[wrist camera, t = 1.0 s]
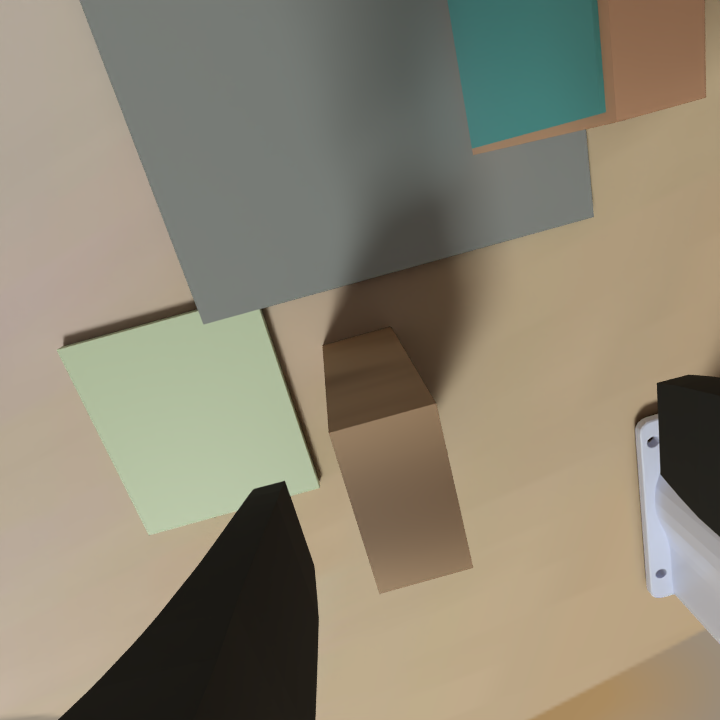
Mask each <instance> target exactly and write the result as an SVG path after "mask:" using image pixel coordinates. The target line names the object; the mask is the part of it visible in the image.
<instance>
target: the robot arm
mask: <svg viewBox="0 0 720 720" xmlns="http://www.w3.org/2000/svg"><path fill="white" fill-rule="evenodd" d="M657 398H658V414H656V415H652V416H648V417H645V418H643V419H641V420H640V421H639V422H638V424H637V426H636V429H635V434H636V447H637V461H638V475H639V488H640V502H641V515H642V529H643V543H644V556H645V570H646V583H647V589H648V591H649V592H650V593H651V595H652V596H654V597H656V598H662V597H666V596H669V595H673V594H675V595H676V596H677V597H678V598H679V599H680V601H681V602H682V603H683V604H684V605H685V606H686V607H687V608H688V609H689V611H690V612H691V613H692V614H693V615H694V616H695V617H696V618H697V619H698V620H699V622H700V623H701V624H702V625H703V626H704V627H705V628H706V629H707V630H708V632H709V633H710V634H711V635H712V636H713V637H714V638H715V639H716V640H717V642H718V643H719V644H720V378H719V377H710V376H700V375H686V376H682V377H678V378H674V379H670V380H667V381H663V382H659V383H657ZM651 437H653V439H652V440H651V441H650V442H648V443H647V441H648V440H649V438H651ZM318 627H319V616H318V602H317V590H316V579H315V568H314V564H313V561H312V558H311V555H310V552H309V549H308V546H307V543H306V540H305V537H304V535H303V532H302V529H301V526H300V523H299V520H298V517H297V514H296V511H295V508H294V505H293V503H292V500H291V497H290V494H289V491H288V488H287V485H286V482H285V481H282V482H278V483H274V484H270V485H267V486H263V487H259V488H255V489H253V490H252V491H251V493H250V494H249V495H248V497H247V498H246V499H245V501H244V502H243V504H242V505H241V506H240V508H239V509H238V511H237V512H236V513H235V515H234V516H233V518H232V519H231V521H230V522H229V523H228V525H227V526H226V528H225V529H224V531H223V532H222V533H221V535H220V536H219V537H218V539H217V540H216V542H215V543H214V544H213V546H212V547H211V548H210V550H209V551H208V553H207V554H206V555H205V557H204V558H203V559H202V561H201V562H200V563H199V565H198V566H197V567H196V569H195V570H194V571H193V572H192V574H191V575H190V576H189V577H188V579H187V580H186V581H185V582H184V584H183V585H182V586H181V587H180V589H179V590H178V591H177V592H176V594H175V595H174V596H173V597H172V599H171V600H170V601H169V602H168V604H167V605H166V606H165V607H164V609H163V610H162V611H161V612H160V614H159V615H158V616H157V617H156V618H155V620H154V621H153V622H152V623H151V624H150V625H149V627H148V628H147V629H146V630H145V631H144V632H143V633H142V635H141V636H140V637H139V638H138V639H137V640H136V641H135V642H134V643H133V645H132V646H131V647H130V648H129V649H128V650H127V651H126V652H125V653H124V654H123V655H122V656H121V657H120V658H119V660H118V661H117V662H116V663H115V664H114V665H113V666H112V667H111V668H110V669H109V670H108V671H107V672H106V673H105V674H104V675H103V677H102V678H101V679H100V680H99V681H98V682H97V683H96V684H95V685H94V686H93V687H92V688H91V689H90V690H89V691H88V692H87V693H86V694H85V695H84V696H83V697H82V698H80V699H79V700H78V701H77V702H76V703H75V704H74V705H73V706H72V707H71V708H70V709H69V710H68V711H67V712H66V713H65V714H64V715H63V716H62V717H60V718H59V719H58V720H315V716H316V688H317V660H318Z"/></svg>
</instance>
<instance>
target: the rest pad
mask: <svg viewBox="0 0 720 720" xmlns="http://www.w3.org/2000/svg"><path fill="white" fill-rule="evenodd" d="M57 352H58V354H59V356H60V358H61V360H62V362H63V364H64V366H65V368H66V370H67V372H68V374H69V376H70V378H71V380H72V382H73V384H74V386H75V388H76V390H77V392H78V394H79V396H80V398H81V400H82V402H83V404H84V406H85V408H86V410H87V412H88V414H89V416H90V418H91V420H92V422H93V424H94V426H95V428H96V430H97V432H98V434H99V436H100V438H101V440H102V442H103V444H104V446H105V448H106V450H107V452H108V454H109V456H110V458H111V460H112V462H113V464H114V466H115V468H116V470H117V472H118V474H119V476H120V478H121V480H122V482H123V484H124V486H125V488H126V490H127V492H128V494H129V496H130V498H131V500H132V502H133V504H134V506H135V508H136V510H137V512H138V514H139V516H140V518H141V520H142V522H143V524H144V526H145V528H146V530H147V532H148V534H149V535H152V534H156V533H159V532H163V531H166V530H170V529H174V528H177V527H181V526H184V525H188V524H192V523H195V522H199V521H202V520H206V519H210V518H213V517H217V516H220V515H224V514H228V513H231V512H235V511H238V509H239V508H240V506H241V505H242V504H243V502H244V501H245V499H246V498H247V497H248V495H249V494H250V493H251V491H252V490H253V489H255V488H259V487H263V486H267V485H270V484H274V483H278V482H282V481H285V482H286V485H287V488H288V491H289V494H290V496H292V495H296V494H299V493H303V492H307V491H310V490H314V489H317V488H320V482H319V479H318V476H317V473H316V470H315V467H314V464H313V461H312V458H311V455H310V452H309V450H308V447H307V444H306V441H305V438H304V435H303V432H302V429H301V426H300V423H299V420H298V417H297V414H296V411H295V408H294V405H293V402H292V399H291V396H290V393H289V390H288V387H287V384H286V381H285V378H284V375H283V372H282V369H281V366H280V363H279V360H278V357H277V354H276V351H275V348H274V345H273V342H272V339H271V336H270V333H269V330H268V328H267V325H266V322H265V319H264V316H263V313H262V310H261V309H258V310H255V311H251V312H248V313H244V314H240V315H237V316H233V317H229V318H226V319H222V320H219V321H215V322H211V323H208V324H204V325H203V322H202V320H201V317H200V314H199V312H198V309H197V310H193V311H190V312H186V313H182V314H179V315H175V316H171V317H168V318H164V319H161V320H157V321H153V322H150V323H146V324H142V325H139V326H135V327H132V328H128V329H124V330H121V331H117V332H113V333H110V334H106V335H103V336H99V337H95V338H92V339H88V340H84V341H81V342H77V343H74V344H70V345H66V346H63V347H61V348H59V349H58V350H57Z"/></svg>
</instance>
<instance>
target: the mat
mask: <svg viewBox="0 0 720 720" xmlns="http://www.w3.org/2000/svg"><path fill="white" fill-rule="evenodd" d="M80 3H81V5H82V8H83V11H84V13H85V16H86V18H87V21H88V24H89V26H90V29H91V32H92V34H93V37H94V39H95V42H96V45H97V47H98V50H99V53H100V55H101V58H102V60H103V63H104V66H105V68H106V71H107V73H108V76H109V79H110V81H111V84H112V87H113V89H114V92H115V94H116V97H117V100H118V102H119V105H120V107H121V110H122V113H123V115H124V118H125V121H126V123H127V126H128V128H129V131H130V134H131V136H132V139H133V142H134V144H135V147H136V149H137V152H138V155H139V157H140V160H141V162H142V165H143V168H144V170H145V173H146V176H147V178H148V181H149V183H150V186H151V189H152V191H153V194H154V197H155V199H156V202H157V204H158V207H159V210H160V212H161V215H162V217H163V220H164V223H165V225H166V228H167V231H168V233H169V236H170V238H171V241H172V244H173V246H174V249H175V252H176V254H177V257H178V259H179V262H180V265H181V267H182V270H183V272H184V275H185V278H186V280H187V283H188V286H189V288H190V291H191V293H192V296H193V299H194V301H195V304H196V306H197V309H198V312H199V314H200V317H201V320H202V322H203V325H204V324H208V323H211V322H215V321H219V320H222V319H226V318H229V317H233V316H237V315H240V314H244V313H248V312H251V311H255V310H258V309H262V308H266V307H269V306H273V305H277V304H280V303H284V302H287V301H291V300H295V299H298V298H302V297H305V296H309V295H313V294H316V293H320V292H324V291H327V290H331V289H334V288H338V287H342V286H345V285H349V284H353V283H356V282H360V281H363V280H367V279H371V278H374V277H378V276H382V275H385V274H389V273H392V272H396V271H400V270H403V269H407V268H411V267H414V266H418V265H421V264H425V263H429V262H432V261H436V260H440V259H443V258H447V257H450V256H454V255H458V254H461V253H465V252H468V251H472V250H476V249H479V248H483V247H487V246H490V245H494V244H497V243H501V242H505V241H508V240H512V239H516V238H519V237H523V236H526V235H530V234H534V233H537V232H541V231H545V230H548V229H552V228H555V227H559V226H563V225H566V224H570V223H574V222H577V221H581V220H584V219H588V218H592V217H594V214H593V203H592V192H591V181H590V170H589V159H588V148H587V137H586V129H585V130H580V131H576V132H572V133H567V134H563V135H559V136H554V137H550V138H546V139H541V140H537V141H533V142H528V143H524V144H520V145H515V146H511V147H507V148H502V149H498V150H494V151H489V152H485V153H480V154H476V155H473V152H472V146H471V140H470V134H469V128H468V122H467V116H466V110H465V104H464V98H463V92H462V86H461V80H460V74H459V68H458V62H457V56H456V50H455V44H454V38H453V32H452V26H451V20H450V14H449V8H448V1H447V0H80Z"/></svg>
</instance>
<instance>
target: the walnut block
mask: <svg viewBox="0 0 720 720" xmlns="http://www.w3.org/2000/svg"><path fill="white" fill-rule="evenodd" d="M323 359H324V373H325V387H326V400H327V414H328V428H329V435H330V438H331V442H332V445H333V448H334V451H335V454H336V457H337V461H338V464H339V467H340V470H341V473H342V476H343V480H344V483H345V486H346V489H347V492H348V495H349V499H350V502H351V505H352V508H353V511H354V514H355V518H356V521H357V524H358V527H359V530H360V533H361V537H362V540H363V543H364V546H365V549H366V552H367V556H368V559H369V562H370V565H371V568H372V571H373V575H374V578H375V581H376V584H377V587H378V591H379V594H381V593H385V592H388V591H392V590H395V589H399V588H402V587H406V586H410V585H413V584H417V583H420V582H424V581H428V580H431V579H435V578H438V577H442V576H445V575H449V574H453V573H456V572H460V571H463V570H467V569H471V568H473V565H472V560H471V556H470V551H469V547H468V543H467V538H466V534H465V529H464V525H463V520H462V516H461V511H460V507H459V503H458V498H457V494H456V489H455V485H454V480H453V476H452V472H451V467H450V463H449V458H448V454H447V449H446V445H445V441H444V436H443V432H442V427H441V423H440V418H439V414H438V410H437V405H436V402H435V401H434V399H433V397H432V396H431V394H430V392H429V391H428V389H427V387H426V385H425V384H424V382H423V380H422V379H421V377H420V375H419V374H418V372H417V370H416V369H415V367H414V365H413V363H412V362H411V360H410V358H409V357H408V355H407V353H406V352H405V350H404V348H403V347H402V345H401V343H400V341H399V340H398V338H397V336H396V335H395V333H394V331H393V330H392V328H391V327H388V328H384V329H380V330H377V331H373V332H370V333H366V334H362V335H359V336H355V337H352V338H348V339H344V340H341V341H337V342H333V343H330V344H326V345H323Z"/></svg>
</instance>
